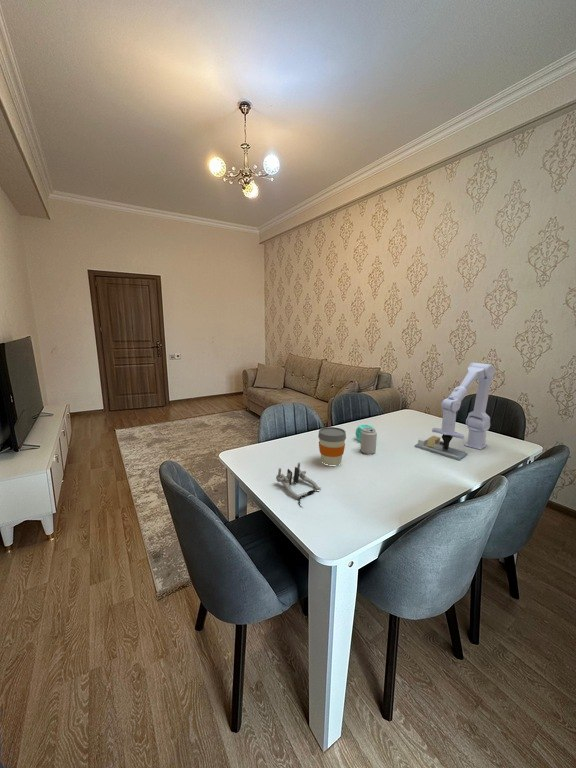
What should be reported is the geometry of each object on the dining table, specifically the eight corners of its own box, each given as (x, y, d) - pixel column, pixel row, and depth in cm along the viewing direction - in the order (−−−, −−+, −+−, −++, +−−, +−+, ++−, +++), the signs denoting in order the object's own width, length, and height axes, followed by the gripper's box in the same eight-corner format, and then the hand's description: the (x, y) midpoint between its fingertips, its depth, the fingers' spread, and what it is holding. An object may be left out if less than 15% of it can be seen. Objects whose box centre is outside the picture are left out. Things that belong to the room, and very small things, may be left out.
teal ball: (364, 444, 165) (364, 430, 164) (355, 439, 172) (355, 425, 171) (376, 442, 168) (376, 428, 167) (366, 437, 176) (367, 423, 174)
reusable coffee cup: (334, 471, 135) (336, 438, 132) (312, 462, 143) (312, 431, 140) (350, 461, 144) (351, 431, 141) (327, 454, 152) (328, 425, 149)
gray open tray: (423, 442, 168) (424, 435, 167) (467, 455, 152) (468, 447, 151) (414, 446, 162) (415, 439, 161) (459, 460, 145) (460, 452, 145)
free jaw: (440, 446, 160) (440, 439, 159) (448, 448, 157) (448, 441, 156) (433, 449, 155) (434, 442, 155) (442, 452, 152) (442, 445, 152)
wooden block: (432, 444, 162) (433, 435, 161) (439, 446, 160) (440, 437, 159) (427, 447, 158) (428, 438, 157) (434, 449, 156) (435, 440, 155)
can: (376, 455, 151) (377, 432, 149) (360, 454, 152) (361, 431, 150) (375, 449, 158) (376, 427, 156) (360, 448, 160) (361, 426, 157)
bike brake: (271, 482, 124) (301, 513, 108) (273, 467, 122) (303, 497, 106) (299, 473, 131) (330, 502, 116) (301, 459, 129) (333, 486, 114)
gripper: (430, 421, 155) (428, 446, 157) (461, 428, 144) (458, 455, 146) (436, 418, 159) (434, 443, 162) (467, 425, 148) (464, 451, 151)
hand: (446, 449), depth 154 cm, fingers closed, pressing on free jaw
